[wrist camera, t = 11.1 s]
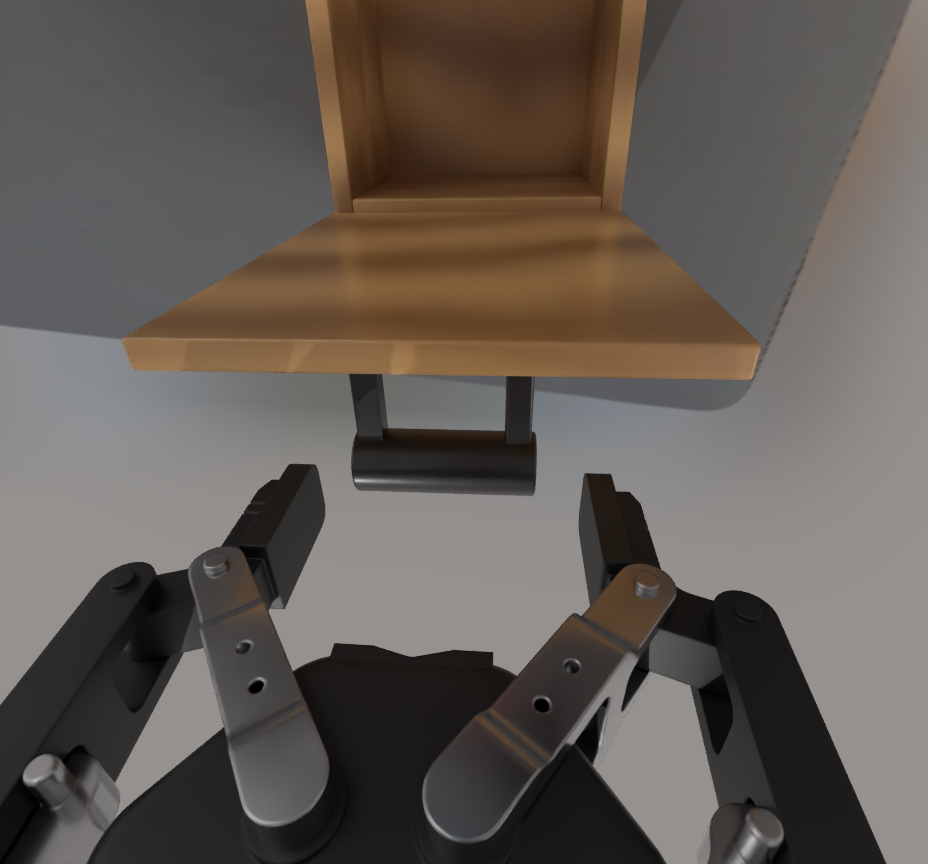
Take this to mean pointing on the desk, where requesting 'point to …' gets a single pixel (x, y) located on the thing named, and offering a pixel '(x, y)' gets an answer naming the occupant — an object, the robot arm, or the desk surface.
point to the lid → (454, 326)
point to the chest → (476, 102)
